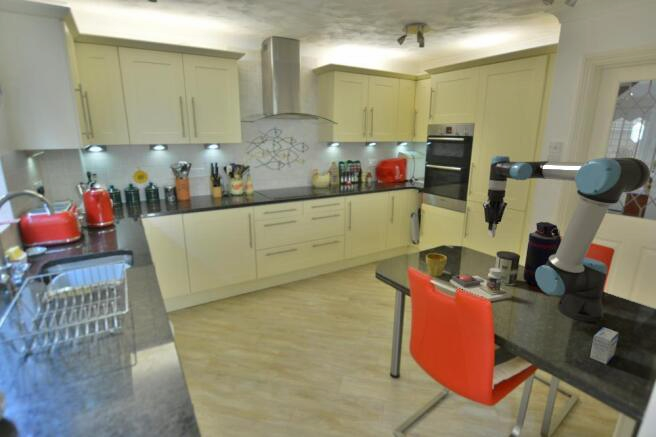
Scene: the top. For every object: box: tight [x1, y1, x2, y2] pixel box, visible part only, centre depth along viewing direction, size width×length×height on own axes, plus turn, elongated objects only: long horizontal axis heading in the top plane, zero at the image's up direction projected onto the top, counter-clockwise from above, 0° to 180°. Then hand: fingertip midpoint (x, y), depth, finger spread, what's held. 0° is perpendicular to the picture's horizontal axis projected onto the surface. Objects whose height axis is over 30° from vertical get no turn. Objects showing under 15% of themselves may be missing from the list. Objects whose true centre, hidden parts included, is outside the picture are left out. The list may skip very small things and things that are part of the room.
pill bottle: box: [486, 267, 502, 292], centre depth 154 cm, size 6×6×10 cm
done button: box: [459, 274, 473, 282], centre depth 164 cm, size 6×6×2 cm
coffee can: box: [494, 250, 521, 286], centre depth 167 cm, size 10×10×14 cm
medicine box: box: [590, 327, 620, 365], centre depth 111 cm, size 8×4×9 cm, turn 126°
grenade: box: [522, 221, 562, 287], centre depth 164 cm, size 14×12×30 cm
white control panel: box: [449, 273, 513, 302], centre depth 159 cm, size 22×16×4 cm
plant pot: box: [425, 253, 448, 278], centre depth 176 cm, size 10×10×10 cm
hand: (491, 236), depth 167 cm, fingers closed
